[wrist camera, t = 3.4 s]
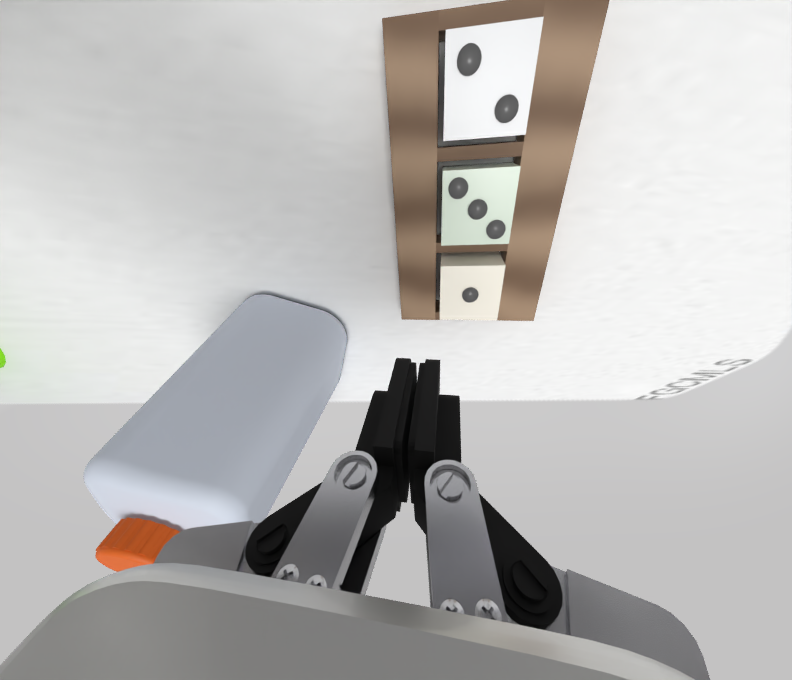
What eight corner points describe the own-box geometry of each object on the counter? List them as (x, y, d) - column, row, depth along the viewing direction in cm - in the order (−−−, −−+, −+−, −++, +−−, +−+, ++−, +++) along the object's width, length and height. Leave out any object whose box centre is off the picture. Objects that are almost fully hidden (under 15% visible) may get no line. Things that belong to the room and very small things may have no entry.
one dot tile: (440, 252, 31) (440, 267, 28) (498, 251, 30) (505, 266, 27) (439, 302, 35) (439, 320, 31) (491, 302, 34) (497, 321, 30)
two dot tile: (445, 45, 22) (445, 28, 19) (528, 34, 21) (544, 15, 18) (443, 140, 26) (443, 141, 22) (514, 134, 25) (526, 134, 21)
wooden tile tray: (388, 30, 23) (382, 18, 21) (593, 2, 21) (613, -15, 19) (404, 307, 37) (401, 319, 35) (527, 307, 35) (533, 320, 33)
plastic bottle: (338, 390, 48) (245, 618, 25) (249, 364, 47) (71, 575, 25) (353, 315, 39) (231, 563, 16) (243, 282, 39) (-41, 494, 16)
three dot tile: (442, 166, 27) (442, 171, 23) (511, 161, 26) (521, 166, 22) (441, 233, 30) (441, 246, 27) (501, 231, 29) (509, 244, 26)
